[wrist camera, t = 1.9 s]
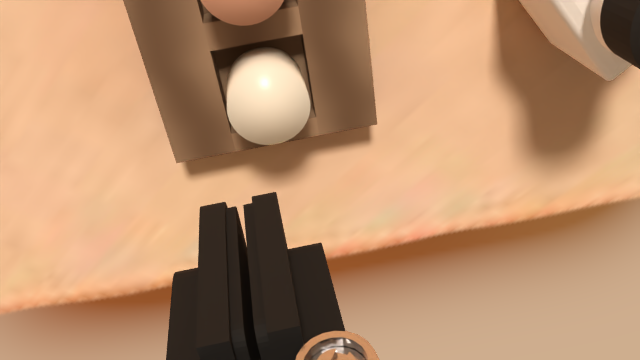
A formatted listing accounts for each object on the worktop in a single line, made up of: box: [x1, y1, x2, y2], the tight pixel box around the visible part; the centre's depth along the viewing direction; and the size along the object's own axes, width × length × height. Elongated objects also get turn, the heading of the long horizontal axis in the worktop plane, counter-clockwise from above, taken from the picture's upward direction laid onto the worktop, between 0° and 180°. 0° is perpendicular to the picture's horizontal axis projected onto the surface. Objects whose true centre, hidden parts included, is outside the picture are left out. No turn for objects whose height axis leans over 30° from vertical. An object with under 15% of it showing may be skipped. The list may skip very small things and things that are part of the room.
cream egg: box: [227, 47, 310, 145], centre depth 33 cm, size 5×5×4 cm
